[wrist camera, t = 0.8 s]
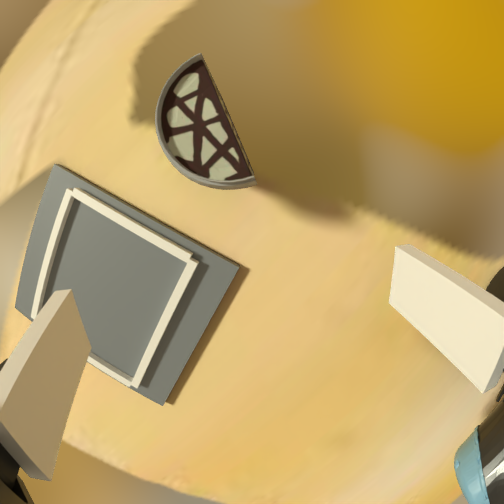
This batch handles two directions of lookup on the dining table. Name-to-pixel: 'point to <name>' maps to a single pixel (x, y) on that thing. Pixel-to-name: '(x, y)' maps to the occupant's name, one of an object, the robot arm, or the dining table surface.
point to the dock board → (122, 281)
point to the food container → (200, 130)
